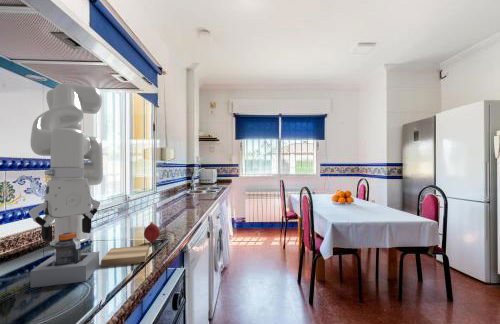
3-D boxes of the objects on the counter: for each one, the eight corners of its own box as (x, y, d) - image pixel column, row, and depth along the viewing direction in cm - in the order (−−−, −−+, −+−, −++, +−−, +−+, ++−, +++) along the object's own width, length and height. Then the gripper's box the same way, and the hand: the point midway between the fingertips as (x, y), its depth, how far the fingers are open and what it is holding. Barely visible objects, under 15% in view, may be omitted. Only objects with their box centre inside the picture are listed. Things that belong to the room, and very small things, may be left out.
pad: (111, 254, 90) (110, 248, 90) (149, 250, 93) (149, 245, 93) (101, 267, 78) (101, 260, 78) (145, 262, 81) (145, 255, 81)
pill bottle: (85, 271, 75) (85, 231, 75) (66, 280, 69) (66, 236, 69) (68, 270, 76) (68, 230, 77) (48, 278, 71) (48, 235, 71)
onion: (162, 242, 103) (162, 221, 103) (147, 245, 100) (147, 224, 100) (156, 239, 108) (156, 219, 108) (141, 242, 104) (141, 221, 104)
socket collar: (52, 270, 77) (52, 255, 77) (99, 265, 80) (99, 251, 80) (30, 287, 65) (30, 271, 65) (86, 281, 68) (85, 265, 68)
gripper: (36, 175, 64) (37, 247, 64) (106, 172, 79) (106, 231, 79) (22, 175, 68) (23, 243, 68) (91, 172, 83) (92, 228, 83)
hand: (68, 236), depth 73 cm, fingers open, 9 cm apart
